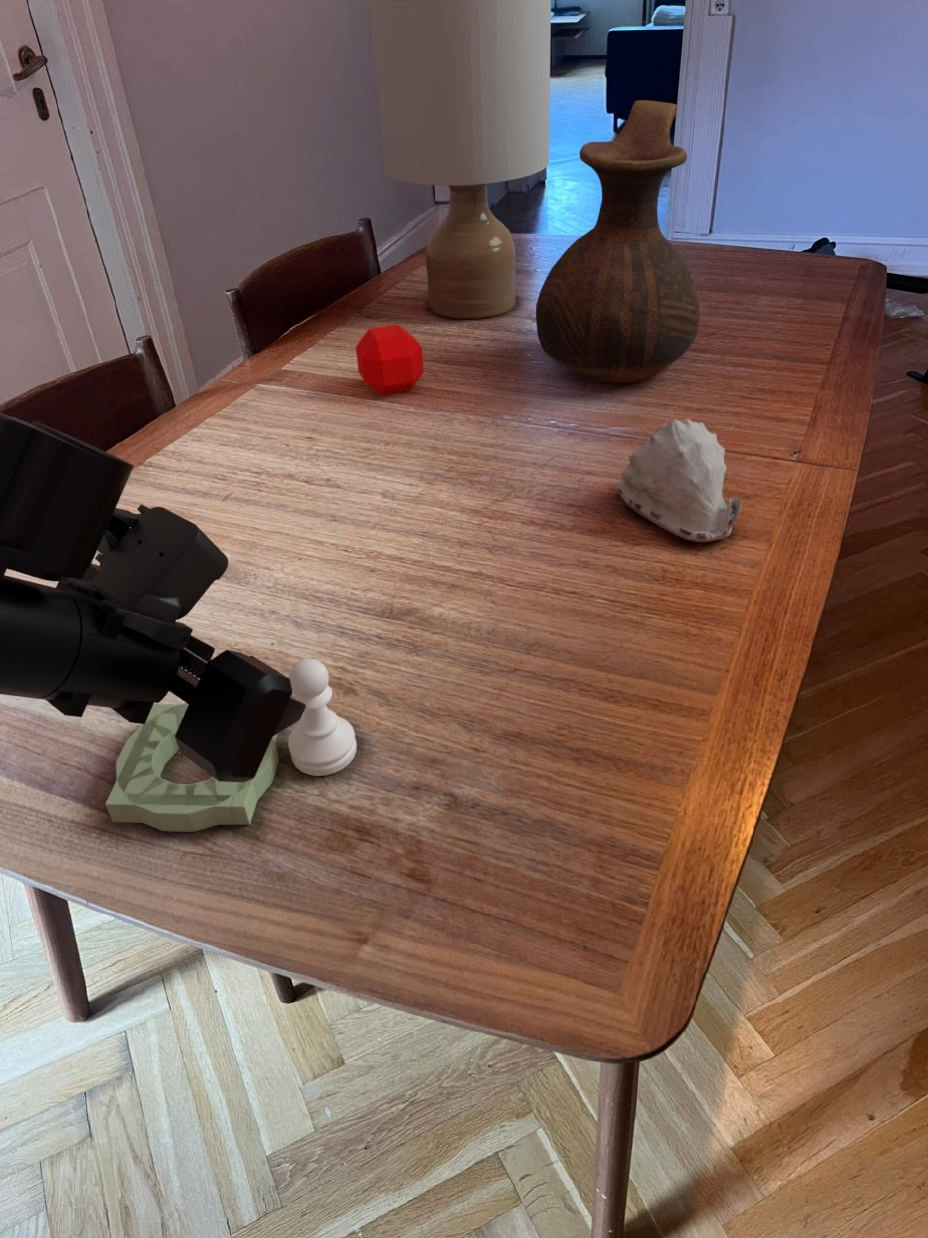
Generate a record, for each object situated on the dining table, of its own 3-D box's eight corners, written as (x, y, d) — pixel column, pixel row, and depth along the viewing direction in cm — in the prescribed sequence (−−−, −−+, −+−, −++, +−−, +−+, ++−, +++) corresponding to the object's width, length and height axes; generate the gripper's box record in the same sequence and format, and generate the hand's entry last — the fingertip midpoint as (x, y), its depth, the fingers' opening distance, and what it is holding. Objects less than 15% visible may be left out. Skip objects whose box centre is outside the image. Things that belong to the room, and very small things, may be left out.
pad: (99, 830, 63) (91, 812, 61) (153, 715, 71) (147, 697, 70) (257, 833, 62) (251, 815, 60) (292, 717, 71) (287, 699, 69)
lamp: (385, 290, 150) (355, -15, 123) (521, 272, 153) (520, -26, 127) (413, 341, 131) (385, -4, 105) (567, 320, 135) (577, -18, 109)
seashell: (711, 557, 85) (726, 465, 79) (598, 506, 93) (603, 418, 87) (779, 507, 91) (798, 418, 85) (668, 463, 99) (677, 379, 93)
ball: (413, 370, 123) (408, 316, 118) (429, 393, 117) (425, 337, 112) (357, 380, 121) (350, 325, 116) (370, 404, 115) (364, 347, 110)
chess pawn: (321, 719, 70) (303, 632, 65) (370, 744, 68) (356, 656, 62) (277, 760, 67) (254, 672, 61) (327, 787, 65) (308, 698, 59)
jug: (729, 375, 117) (768, 118, 98) (590, 413, 110) (603, 144, 91) (634, 324, 132) (651, 94, 114) (507, 354, 126) (504, 115, 107)
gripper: (223, 560, 40) (409, 623, 53) (14, 448, 50) (215, 525, 63) (125, 782, 40) (333, 790, 54) (-64, 628, 50) (152, 667, 63)
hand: (254, 681), depth 58 cm, fingers open, 9 cm apart
